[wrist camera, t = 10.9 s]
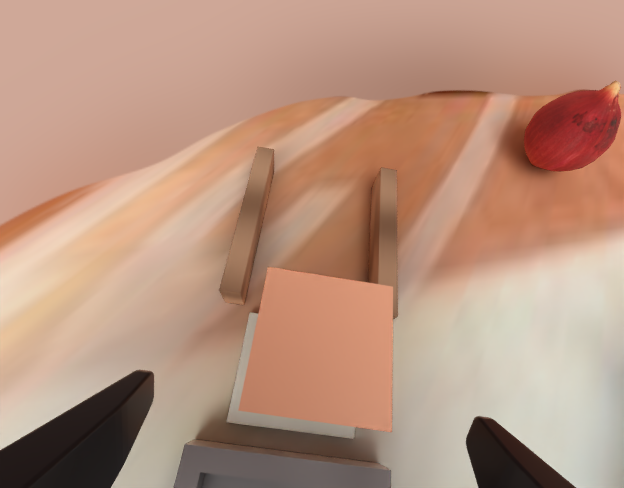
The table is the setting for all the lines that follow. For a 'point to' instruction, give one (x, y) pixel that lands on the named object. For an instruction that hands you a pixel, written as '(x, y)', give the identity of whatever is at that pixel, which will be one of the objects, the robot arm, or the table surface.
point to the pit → (272, 469)
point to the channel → (252, 219)
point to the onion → (573, 129)
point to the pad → (271, 420)
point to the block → (322, 351)
